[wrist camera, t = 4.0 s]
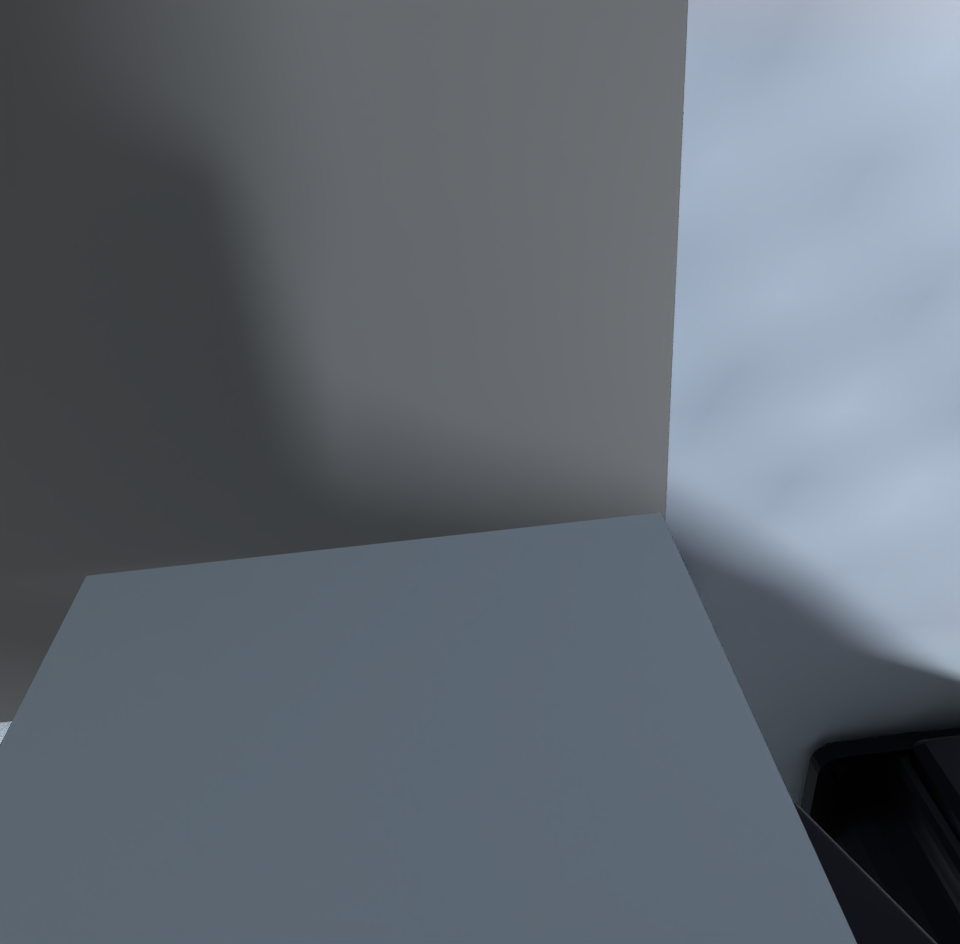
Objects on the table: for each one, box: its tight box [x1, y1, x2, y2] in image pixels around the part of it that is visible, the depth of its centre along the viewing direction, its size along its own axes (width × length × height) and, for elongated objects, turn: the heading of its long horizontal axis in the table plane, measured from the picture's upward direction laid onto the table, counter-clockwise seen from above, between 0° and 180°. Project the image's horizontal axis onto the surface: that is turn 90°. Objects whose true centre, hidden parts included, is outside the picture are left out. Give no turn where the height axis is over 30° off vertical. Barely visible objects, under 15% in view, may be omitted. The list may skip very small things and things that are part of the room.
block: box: [0, 512, 857, 944], centre depth 8 cm, size 6×6×4 cm
